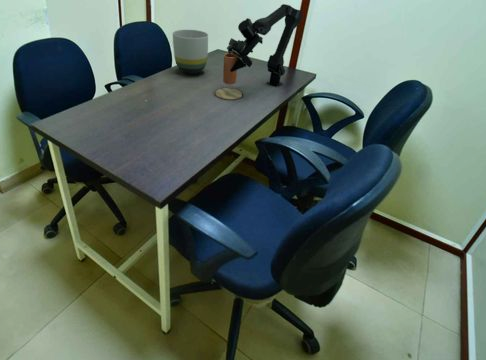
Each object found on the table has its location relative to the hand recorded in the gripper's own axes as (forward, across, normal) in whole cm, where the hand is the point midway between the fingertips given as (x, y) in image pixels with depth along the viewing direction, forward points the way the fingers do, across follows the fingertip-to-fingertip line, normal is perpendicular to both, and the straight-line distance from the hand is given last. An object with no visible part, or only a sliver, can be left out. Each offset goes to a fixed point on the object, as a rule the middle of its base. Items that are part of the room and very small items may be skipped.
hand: (227, 69), depth 149 cm
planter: (+14, -36, +5) cm, 39 cm away
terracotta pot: (+4, 0, +6) cm, 7 cm away
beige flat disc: (+8, 0, +10) cm, 13 cm away
